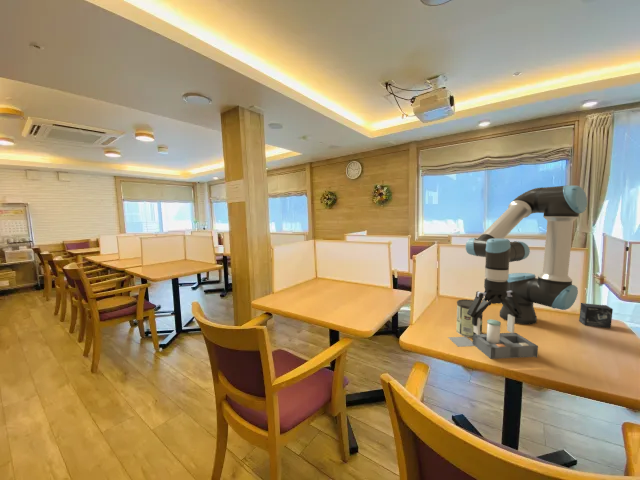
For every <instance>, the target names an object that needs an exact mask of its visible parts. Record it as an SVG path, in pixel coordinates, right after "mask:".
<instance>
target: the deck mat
mask: <svg viewBox="0 0 640 480" xmlns="http://www.w3.org/2000/svg"><path fill="white" fill-rule="evenodd" d="M447 338H448V339H449V340H450V341H451V342H452V343H453V344H454V345H455V346H457V347H461V348H462V347H475V346H474V345H473V340H471V339H470V338H469V337H466V336H449V337H447Z"/></svg>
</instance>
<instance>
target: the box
mask: <svg viewBox="0 0 640 480" xmlns="http://www.w3.org/2000/svg"><path fill="white" fill-rule="evenodd" d="M613 310H614V309H613V308H612V307H610V306H608V305H607V304H593V303H587V302H580V310H579V317H578V318H579V319H578V321H579V322H580V323H581V324H583V326H587V327H588V326H589V327H596V328H605V329H611V328H612V327H611V326H612V320H613Z"/></svg>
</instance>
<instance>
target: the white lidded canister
mask: <svg viewBox="0 0 640 480" xmlns="http://www.w3.org/2000/svg"><path fill="white" fill-rule="evenodd" d="M486 323H487V326H486V334H487V342H488V343H489V344H499V340H500V333H501V324H502V323H501V321H499V320H497V319H491V318H490V319H487V321H486Z"/></svg>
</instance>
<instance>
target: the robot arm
mask: <svg viewBox="0 0 640 480" xmlns="http://www.w3.org/2000/svg"><path fill="white" fill-rule="evenodd" d="M507 206H508V208H507V209H506V210H505V211H503V213H502V214H500V216H499V217H498V218H497V219H496V220H495V221H494V222H493V223H492V224H491V225H490V226H489V227H488V228H487V229H486V230H485V231H483V233H482V234H481V235H480V236H479V237H478V238H476V237H474V238H472V237H471V238H469V239H468V240H467V241H466V244H465V251H466V253H467V254H469V255H471V256H475V257H481V258H485V266H484V285H483V287H484V292H481V291H479V290H478V291H475V293H476V294H475V297H474V299H473V300H474V301H473V303H472V305H471V306H470V308H469V310H468V312H467V314H468V315H470V316H471V317H472V324H473V325H474V330H473V332H474V333H476V334H477V335H480V318H479V316H480V315H481V314H482V313H484V311H485V310H486V309H487V308H488V307H489V306H491V305H492V304H493V305H496V304H499V305H500V304H502V306H501V309H500V310H499V318H501V319H503V320H504V321H506V322H507V323H506V331H507V332H508V333H515V325H516V324H520V325H536V324H537V321H538V317H537V313H536V311H535V307H534V304H537V305H542V306H545V307H549V308H552V309H558V310H560V311H561V310H563V311H567V310H569V309H570V308H571V307H572V306H573V305H574V303H575V302H576V300H577V297H578V293H579V291H578V290H579V289H578V287H577V285H575V284H573V279H572V278H571V277H569V269H570V261H571V260H570V259H571V250H572V247H571V246H572V238H573V231H574V229H573V228H574V222H575V220H577V219H579V216H580V214H583V213H584V212H585V211H586V208H588V207H587V206H588V199H587V195H586V191H585V190H584V188H583V187H581V186H580V185H561V186H560V185H559V186H547V187H546V186H545V187H543V186H542V187H535V188H532V189H529V190H527V191H525V192H523V193H521V194H519V195H518V196H517V197H515V198H514V199H513V200H512V201H511V202H509V204H508V205H507ZM538 213H539V214H543V218H544V219H545V220H546V230H545V231H546V232H545V242H544V243H545V244H544V253H543V254H544V255H543V267H542V272H541V273H540V274H539V275H537V276H536V274H535V273H529V272H513V273H512V272H511V273H509V269H510V268H509V267H510V263H512V262H520V261H522V260H525V259H527V258H528V257H529V255H530V253H531V251H530V247H529V245H528V244H527V243H525V242H523V241H517V240H516V241H515V240H514V241H511V240H510V239H509V238H506V237H507V236H508V235H509V234H510V233H511V232H512V231H513V230H514V229H515V227H517V225H519V223H520V222H522V220H523V219H525V218H528V217H529V216H531V215H532V214H538ZM480 303H481V304H480Z"/></svg>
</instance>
